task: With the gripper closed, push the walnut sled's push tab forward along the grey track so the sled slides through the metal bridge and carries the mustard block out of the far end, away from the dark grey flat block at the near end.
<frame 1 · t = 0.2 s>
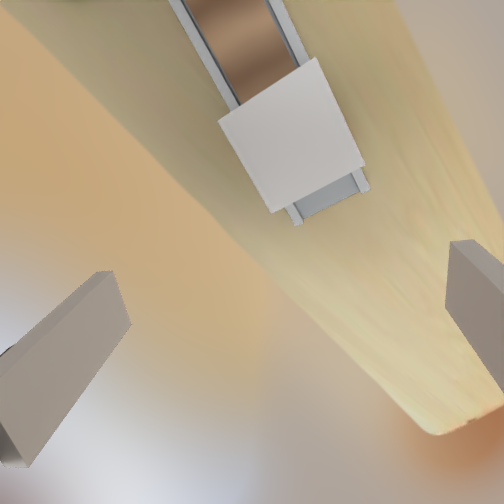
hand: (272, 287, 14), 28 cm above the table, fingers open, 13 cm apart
sled: (252, 58, 31), point 5 cm above the table, slide at 0.0 cm
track: (272, 91, 36), on the table
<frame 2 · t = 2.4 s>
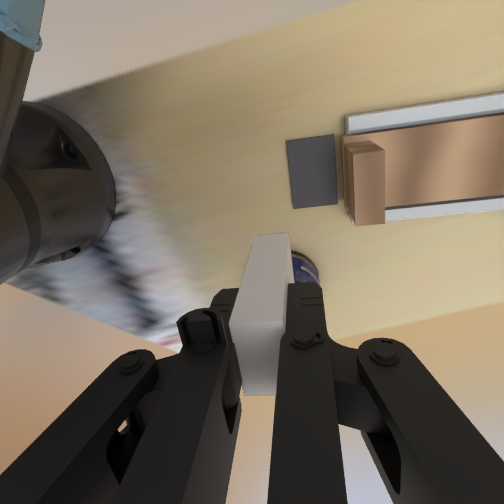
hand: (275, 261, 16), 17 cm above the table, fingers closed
pill bottle: (288, 276, 36), on the table
dark grey flat block: (312, 172, 31), on the table
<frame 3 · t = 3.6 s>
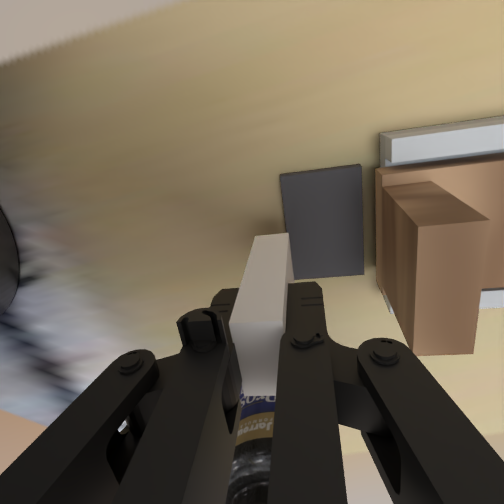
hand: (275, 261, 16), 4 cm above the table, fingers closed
pill bottle: (285, 369, 24), on the table
dark grey flat block: (323, 224, 19), on the table
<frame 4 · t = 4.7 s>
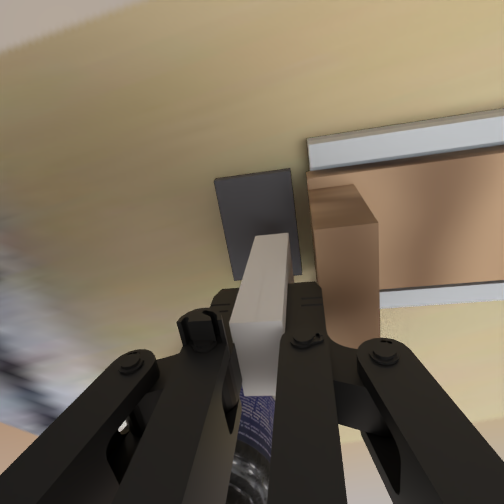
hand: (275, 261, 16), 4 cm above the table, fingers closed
pill bottle: (237, 367, 25), on the table
dark grey flat block: (260, 226, 20), on the table
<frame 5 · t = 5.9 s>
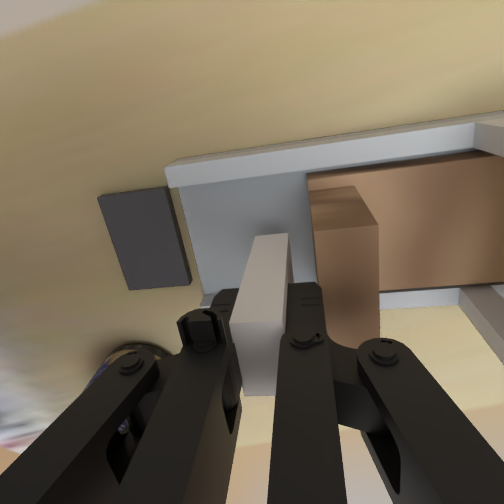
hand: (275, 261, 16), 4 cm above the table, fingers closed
pill bottle: (147, 372, 26), on the table
dark grey flat block: (149, 239, 21), on the table
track: (445, 207, 18), on the table
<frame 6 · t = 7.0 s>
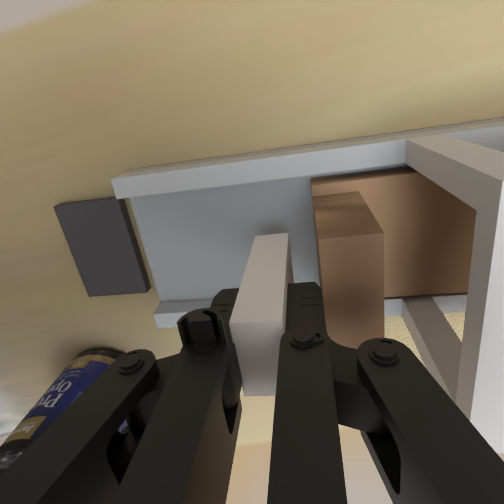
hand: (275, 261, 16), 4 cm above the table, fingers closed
pill bottle: (112, 376, 26), on the table
dark grey flat block: (107, 247, 21), on the table
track: (391, 219, 18), on the table
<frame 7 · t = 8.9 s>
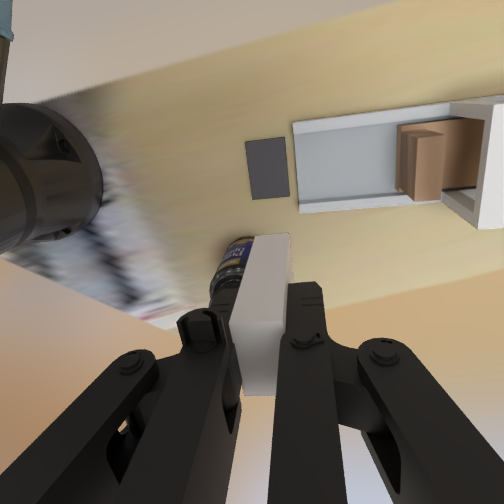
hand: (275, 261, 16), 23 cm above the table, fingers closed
pill bottle: (251, 259, 41), on the table
dark grey flat block: (268, 168, 37), on the table
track: (436, 151, 34), on the table
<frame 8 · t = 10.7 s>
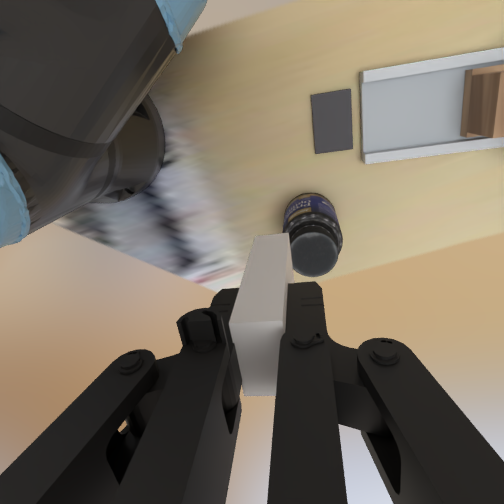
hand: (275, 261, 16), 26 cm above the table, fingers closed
pill bottle: (309, 216, 42), on the table
dark grey flat block: (332, 122, 37), on the table
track: (500, 97, 35), on the table
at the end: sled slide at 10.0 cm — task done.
